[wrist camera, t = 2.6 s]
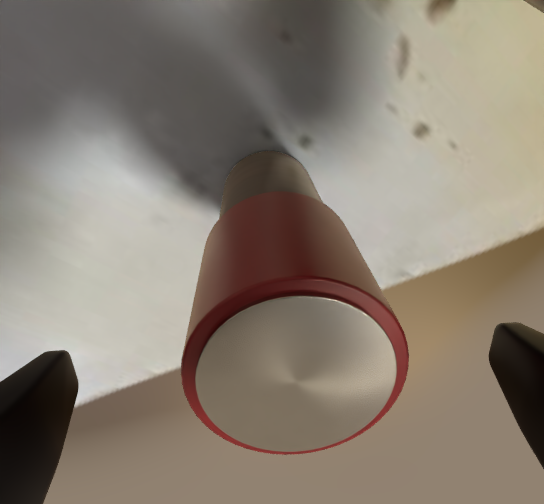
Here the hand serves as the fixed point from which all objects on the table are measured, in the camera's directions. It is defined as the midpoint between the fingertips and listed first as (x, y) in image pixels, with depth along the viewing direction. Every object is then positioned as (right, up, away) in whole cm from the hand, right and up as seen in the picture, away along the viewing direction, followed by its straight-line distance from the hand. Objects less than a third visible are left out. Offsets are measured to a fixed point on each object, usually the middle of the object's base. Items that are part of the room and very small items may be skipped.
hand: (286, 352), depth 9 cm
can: (0, +2, +4) cm, 4 cm away
